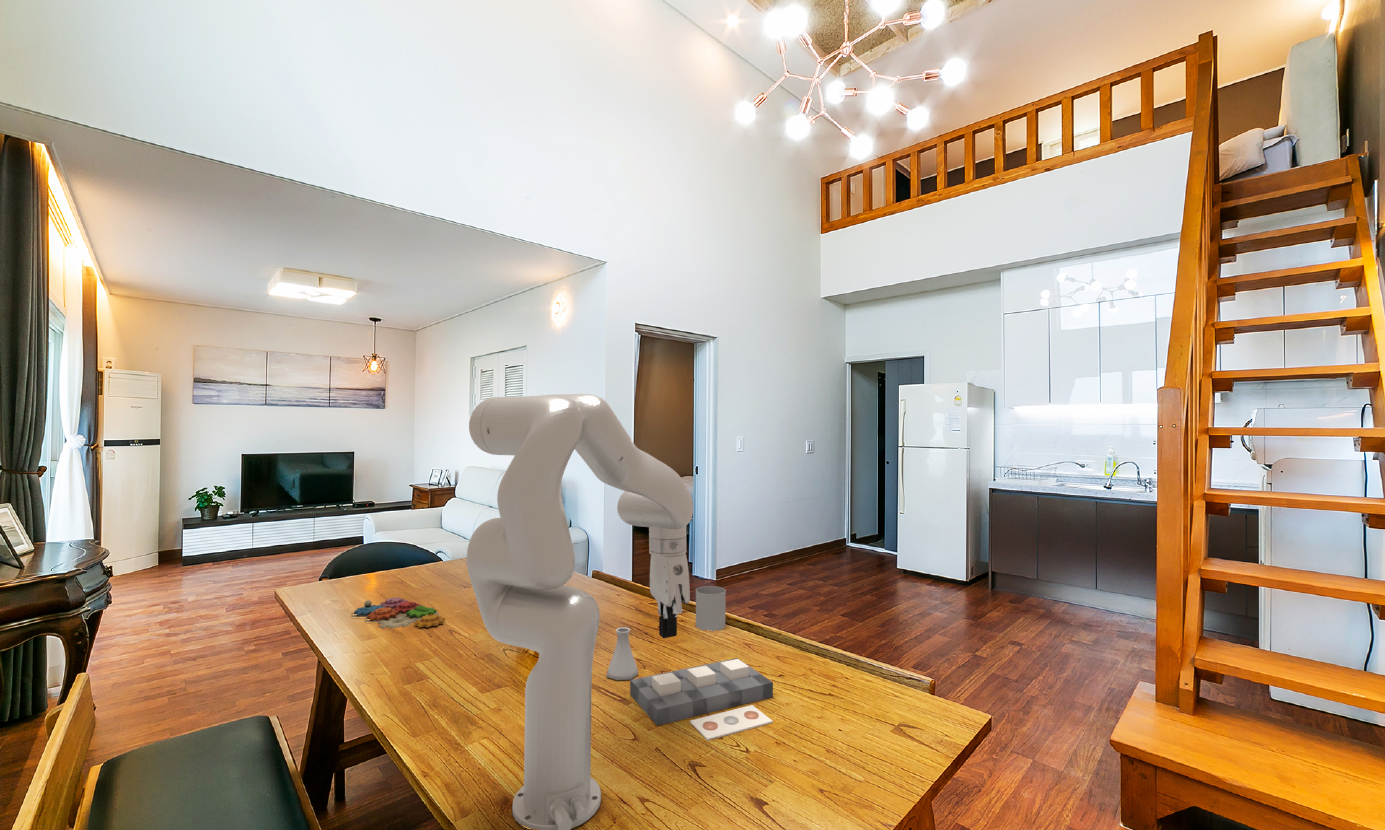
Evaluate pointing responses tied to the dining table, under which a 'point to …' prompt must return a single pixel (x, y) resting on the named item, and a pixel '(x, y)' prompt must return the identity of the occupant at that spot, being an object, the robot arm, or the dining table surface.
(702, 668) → the button
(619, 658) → the flask
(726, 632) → the dining table surface
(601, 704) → the dining table surface
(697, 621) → the cup
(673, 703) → the button board
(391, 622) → the gear puzzle
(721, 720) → the pattern card
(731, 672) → the button
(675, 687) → the button
